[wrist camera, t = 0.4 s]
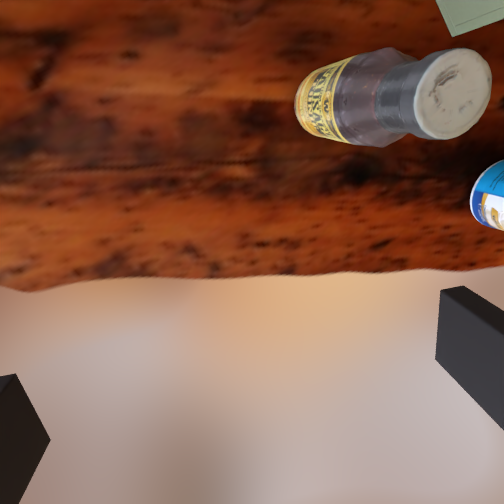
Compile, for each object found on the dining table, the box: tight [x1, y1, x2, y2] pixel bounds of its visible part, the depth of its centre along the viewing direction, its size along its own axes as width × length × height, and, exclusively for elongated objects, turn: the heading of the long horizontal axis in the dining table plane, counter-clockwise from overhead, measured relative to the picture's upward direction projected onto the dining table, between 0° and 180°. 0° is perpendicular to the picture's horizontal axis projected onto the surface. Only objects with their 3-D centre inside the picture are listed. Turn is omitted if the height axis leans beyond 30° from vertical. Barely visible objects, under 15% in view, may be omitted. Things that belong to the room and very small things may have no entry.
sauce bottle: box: [294, 47, 492, 147], centre depth 25 cm, size 6×6×20 cm
